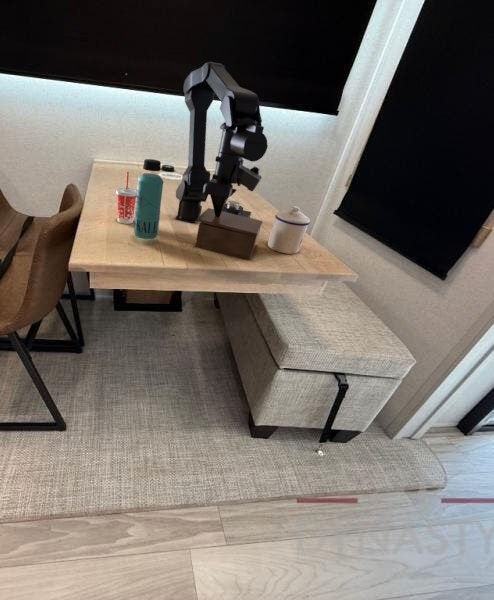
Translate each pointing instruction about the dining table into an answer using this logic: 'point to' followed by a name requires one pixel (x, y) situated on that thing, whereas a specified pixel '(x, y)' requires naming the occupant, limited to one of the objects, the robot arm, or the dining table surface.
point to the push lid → (233, 204)
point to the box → (226, 241)
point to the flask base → (237, 211)
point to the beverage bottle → (148, 201)
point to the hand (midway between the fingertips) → (217, 216)
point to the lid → (231, 222)
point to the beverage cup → (126, 203)
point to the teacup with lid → (288, 231)
